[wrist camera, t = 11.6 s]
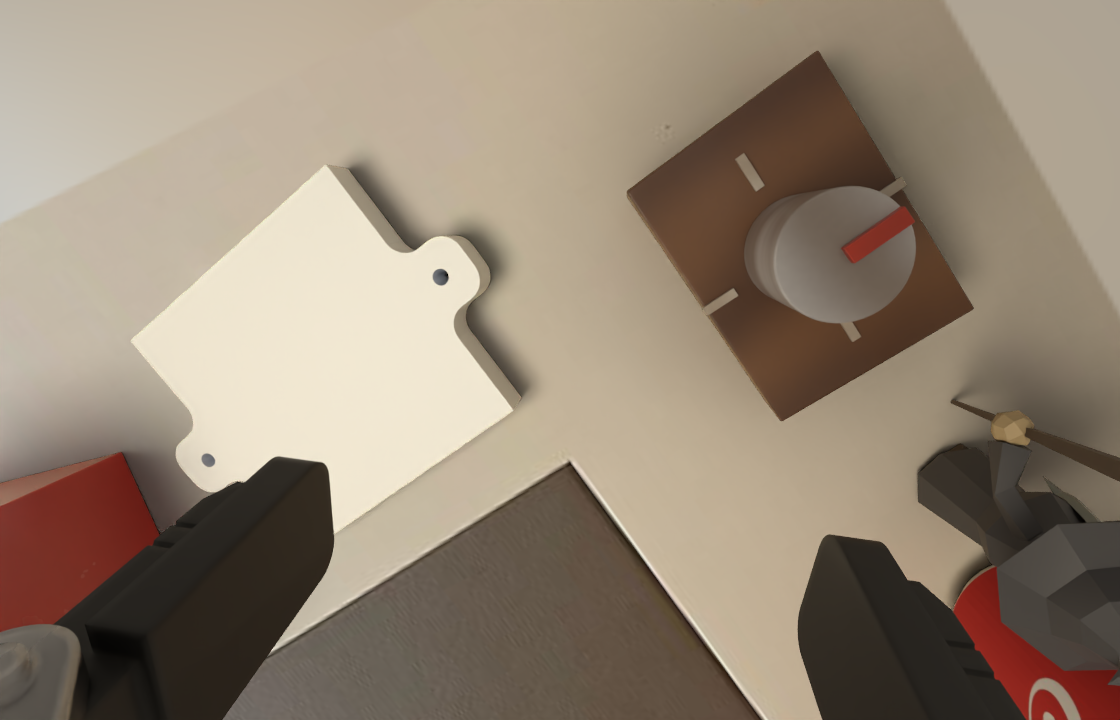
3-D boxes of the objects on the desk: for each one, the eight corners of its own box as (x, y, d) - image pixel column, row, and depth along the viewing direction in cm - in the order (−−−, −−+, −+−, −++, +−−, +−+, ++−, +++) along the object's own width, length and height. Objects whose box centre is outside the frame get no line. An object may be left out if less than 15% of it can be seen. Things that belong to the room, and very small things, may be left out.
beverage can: (910, 598, 27) (1121, 879, 16) (1029, 518, 26) (1361, 763, 14) (995, 685, 28) (1260, 1019, 16) (1117, 612, 26) (1507, 922, 15)
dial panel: (624, 196, 24) (623, 192, 21) (796, 69, 23) (822, 45, 20) (762, 401, 26) (780, 425, 23) (936, 297, 24) (980, 307, 21)
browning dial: (782, 324, 22) (825, 352, 17) (722, 240, 21) (748, 244, 17) (877, 259, 21) (950, 269, 16) (816, 170, 21) (872, 154, 16)
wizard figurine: (1050, 497, 25) (1406, 729, 14) (930, 558, 27) (1164, 817, 15) (953, 348, 24) (1249, 462, 13) (834, 419, 26) (1005, 581, 14)
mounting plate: (295, 554, 31) (274, 575, 29) (131, 361, 29) (97, 370, 27) (564, 368, 26) (559, 379, 25) (388, 132, 25) (369, 124, 23)
